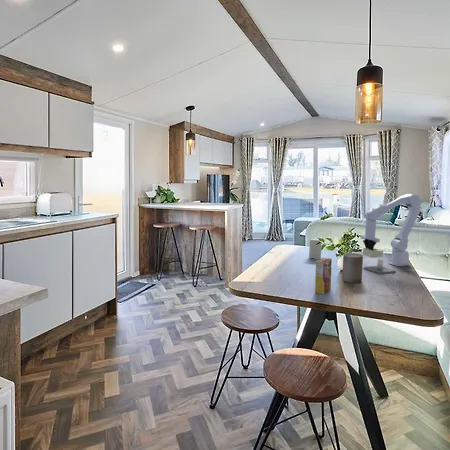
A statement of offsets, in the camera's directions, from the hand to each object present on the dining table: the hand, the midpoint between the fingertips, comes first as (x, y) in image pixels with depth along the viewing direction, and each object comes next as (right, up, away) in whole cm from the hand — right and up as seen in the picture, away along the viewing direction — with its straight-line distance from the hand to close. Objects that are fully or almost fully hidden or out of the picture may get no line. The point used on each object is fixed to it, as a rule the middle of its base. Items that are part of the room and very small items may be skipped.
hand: (369, 251), depth 225 cm
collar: (+1, -2, -3) cm, 4 cm away
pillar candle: (-23, -13, -36) cm, 44 cm away
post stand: (0, -10, -15) cm, 18 cm away
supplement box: (-30, -5, +16) cm, 34 cm away
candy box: (-43, -15, -54) cm, 71 cm away
